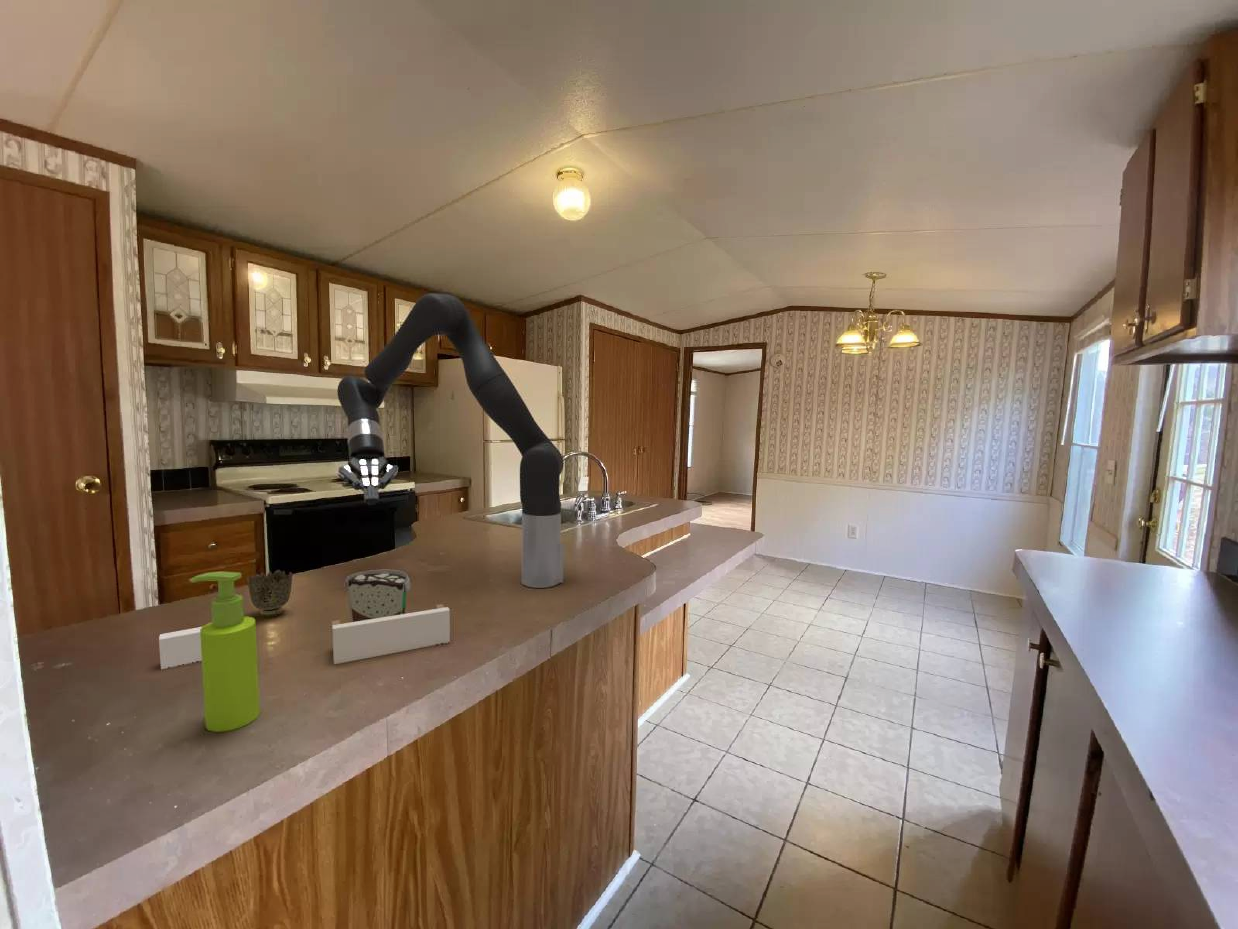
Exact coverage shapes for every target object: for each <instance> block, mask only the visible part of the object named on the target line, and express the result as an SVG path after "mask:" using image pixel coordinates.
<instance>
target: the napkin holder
mask: <svg viewBox="0 0 1238 929" xmlns="http://www.w3.org/2000/svg"><path fill="white" fill-rule="evenodd" d="M202 627H203V626H199V627H194V628H186V629H183V630H178V631H170V632H165V633H161V634H159V638H158V646H159V659H160V662H159V663H160V670H164V669H169V668H168V667H170V668H175V667H178V665H180V666H183V665H182V664H184V665H189V664H193V663H192V662H194V663H197V662H196V661H199V662H202V655H201V638H200V629H201V628H202Z"/></svg>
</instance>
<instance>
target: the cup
mask: <svg viewBox="0 0 1238 929" xmlns="http://www.w3.org/2000/svg"><path fill="white" fill-rule="evenodd" d="M292 581H293V572H291V571H290V572H289V573H288V574H286V571H285V570H283V571H282V570H280V569H277V570H276V571H274V572H273V573H272V572H271V571H270V570H268V572H267V574H265V573H264V572H260V574H258V573H255V575H254V576H253V575H250V577H247V578H246V582H247V586H248V593H249V596H250V600H251V604H252V605H253V607H255V608H256V609H258V610H260V615H261V616H262V617H264V618H274V616H275V617H278V616H279V615H281V614H282V613H283V611H284V609H283V606H285V605H286V604H287V603H288V602H289V599H290V598H291V592H292V583H293V582H292Z"/></svg>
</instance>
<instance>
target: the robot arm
mask: <svg viewBox="0 0 1238 929" xmlns="http://www.w3.org/2000/svg"><path fill="white" fill-rule="evenodd" d="M435 336H446V338H447V339H448V340H449V342H450V343H451V344H452V345H453V347H454V349H455V350H456V351H457V353H458V354H459V356H460V359H461V361H462V366H463V370H464V375H465V379H466V383H467V386H468V388H469V390H470V392H471V394H472V396H473V397H474V399H475V400H476V401H477V403H478V404H479V406H480V407H481V409H482V410H483V411H484V412H485V414H486V415H487V416H488V417H489V419H491V420H492V421H493V422H494V423H495V424H496V425H497V426H498V427H499V428H500V429H501V430H502V431H503V432H504V433H506V435H507V436H508V437H509V438H510V440H511V441H512V442H513V444H514V445H515V446H516V448H517V449H518V451H519V453H520V454H521V456H522V457H521V460H520V463H519V498H520V503H521V574H520V578H521V584H522V585H524V586H526V587H528V588H529V587H530V588H538V589H540V588H541V589H543V588H550V587H554V586H558V585H559V584H563V582H564V551H565V550H564V544H563V543H562V542H561V536H562V535H561V531H562V530H561V525H562V524H561V516H562V514H561V513H562V501H561V499H560V475H561V474H562V472H563V471H564V466H565V464H564V458H563V456H562V453H561V452H560V450H559V449H558V448H557V446H556V445H554V443H553V442H552V441H551V440H550V439H549V437H548V436H547V435H546V433H545V432H544V431H543V430H542V429H541V426H539V424H538V423H537V422H536V420H535V419H534V417H533V415H532V414H531V412H530V410H529V408H528V406H527V404H526V403H525V401H524V400H523V398H522V396H521V395H520V393H519V391H518V390H517V388H516V387H515V385H514V383H513V382H512V380H511V379H510V378H509V376H508V374H507V373H506V371H505V370H504V369H503V368H502V366H501V365H500V363H499V362H498V359H496V356H494V354H493V352H492V351H491V349H490V348H489V347H488V345H487V344H486V342H485V340H484V338H482V336H481V334H480V332H479V330H478V328H477V327H476V324H475V323H474V320H473V319H472V317H471V315H470V313H469V311H468V309H467V308H466V306H465V305H464V303H463V302H462V301H461V300H460V299H459V298H458V297H456V296H454V295H452V294H448V293H431V292H430V293H428V294H424V295H423V296H421V297H420V298H419V299H418V300H417V301H416V303H415V304H414V305H413V307H412V308H411V310H410V311H409V313H408V315H407V316H406V318H405V319H404V321H403V323H402V324H401V325H400V326H399V328H398V330H397V331H396V332H395V334H394V335H393V337H392V338H391V339H390V341H389V342H388V343H387V344H386V345H385V346H384V347H383V349H382V350H380V351H379V353H378V354H377V355H375V357H374V358H373V359H372V360H371V361H370V362H369V363H368V364H367V365H366V367H365V369H364V376H365V378H366V380H365V379H363V378H362V377H358V376H355V375H347V376H345V377H343V378H342V379H341V380H340V381H339V383H338V385H337V392H336V393H337V398H338V402H339V404H340V405H341V408H342V409H343V412H344V414H345V416H346V417H347V427H348V429H347V430H348V431H347V445H348V456H349V459H348V461H347V465H345V466H339V467H338V477H339V478H341V480H342V481H344V482H345V483H346V484H347V485H349V486H350V487H351V488H352V489H353V490H355V491H359V490H360V491H362V492H363V499H364V500H363V501H364V503H367V505H368V506H370V505H373V506H374V505H376V503H378V502H379V499H380V498H379V490H384V489H386V487H388V485H389V484H390V483H392V481H393V480H394V479H395V477H396V476H398V471H399V467H398V465H391V464H389V461H388V460H387V459H386V453H385V446H384V438H383V432H382V429H381V422H380V416H379V412H378V410H377V409H378V408H381V406H382V404H383V402H384V399H385V397H386V395H387V393H388V392H389V390H390V388H391V386H392V385H393V383H395V382H396V381H397V380H398V379H399V378H400V377H401V376H402V375H403V374H404V373H405V372H406V371H407V370H408V368H409V366H410V365H411V363H412V360H413V357H414V355H415V353H416V352H417V350H418V349H419V348H420V346H422V344H424V343H425V342H427V341H428V340H429V339H431V338H433V337H435ZM385 471H386V473H385V474H384V472H385ZM383 474H384V476H382V475H383ZM381 476H382V477H381ZM380 477H381V479H380V480H379V478H380Z"/></svg>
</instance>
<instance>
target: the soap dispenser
mask: <svg viewBox="0 0 1238 929" xmlns="http://www.w3.org/2000/svg"><path fill="white" fill-rule="evenodd" d="M241 578H242V573H241V572H233V571H210V572H205V573H202V574H198V575H196V576H194V577H192V578H189V579H188V581H189V582H190V583H197V582H207V581H208V582H210V581H211V582H217V587H218V596H216V597H215V598H213V599H212V600H211V602H210V607H211V608H210V609H211V613H210V614H211V621H210V622H209V623H206V624H205V625H203V626H201V627H202V628H201V629H200V638H201V655H202V661H201V669H202V682H203V683H202V686H203V703H204V704H203V705H204V706H203V707H204V718H205V719H204V721H205V728H206V729H207V730H208V731H210V732H217V733H220V732H221V733H222V732H230V731H233V730H237V729H239V728H242V727H245V726H246V725H249V724H251V723H252V722H254V721H255V720H257V718H258V717H259V715H260V711H261V710H260V709H261V707H260V692H259V691H260V690H259V667H258V665H259V664H258V650H257V649H258V648H257V629H256V628H257V625H256V619H255V618H254V617H252V616H245V615H244V597H243V595H241V594H240V595H239V594H237V593H236V592H235V591H236V590H235V589H236V588H235V581H237V580H239V579H241Z"/></svg>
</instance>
